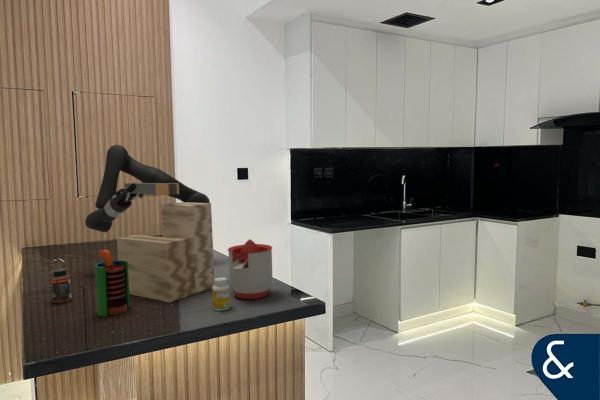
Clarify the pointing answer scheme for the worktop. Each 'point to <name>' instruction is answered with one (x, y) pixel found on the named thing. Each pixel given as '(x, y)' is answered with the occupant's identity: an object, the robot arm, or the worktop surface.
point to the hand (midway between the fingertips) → (139, 184)
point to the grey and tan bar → (155, 188)
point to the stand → (172, 254)
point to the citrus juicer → (250, 270)
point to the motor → (111, 285)
